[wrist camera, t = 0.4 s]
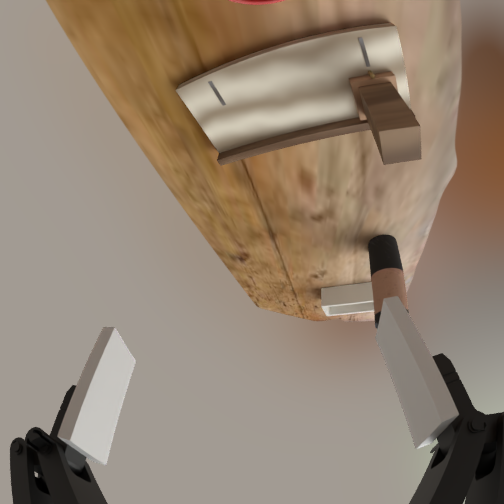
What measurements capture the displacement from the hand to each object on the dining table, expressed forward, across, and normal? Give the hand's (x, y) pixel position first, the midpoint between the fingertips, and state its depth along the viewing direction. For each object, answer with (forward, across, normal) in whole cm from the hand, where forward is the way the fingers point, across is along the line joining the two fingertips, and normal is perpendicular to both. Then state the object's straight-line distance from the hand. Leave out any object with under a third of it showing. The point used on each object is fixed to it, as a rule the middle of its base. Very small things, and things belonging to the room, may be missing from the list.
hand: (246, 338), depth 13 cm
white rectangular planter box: (+58, +26, -47) cm, 79 cm away
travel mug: (+45, +28, -24) cm, 58 cm away
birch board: (+31, +8, +11) cm, 34 cm away
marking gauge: (+27, +18, +10) cm, 34 cm away
